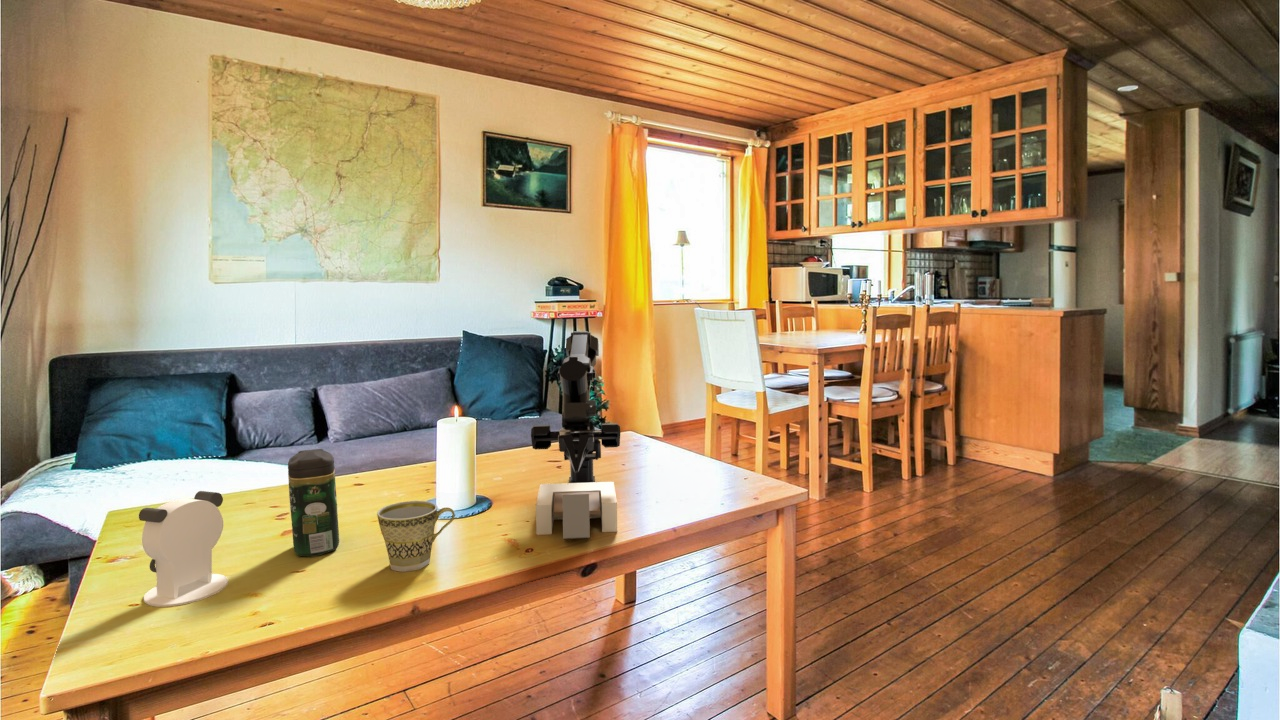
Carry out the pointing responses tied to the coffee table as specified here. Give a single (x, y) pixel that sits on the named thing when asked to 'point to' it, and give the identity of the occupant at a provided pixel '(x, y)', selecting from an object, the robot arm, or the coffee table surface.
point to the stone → (576, 516)
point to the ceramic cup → (410, 532)
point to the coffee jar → (313, 502)
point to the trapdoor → (558, 499)
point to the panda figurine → (183, 549)
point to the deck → (548, 491)
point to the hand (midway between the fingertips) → (576, 471)
